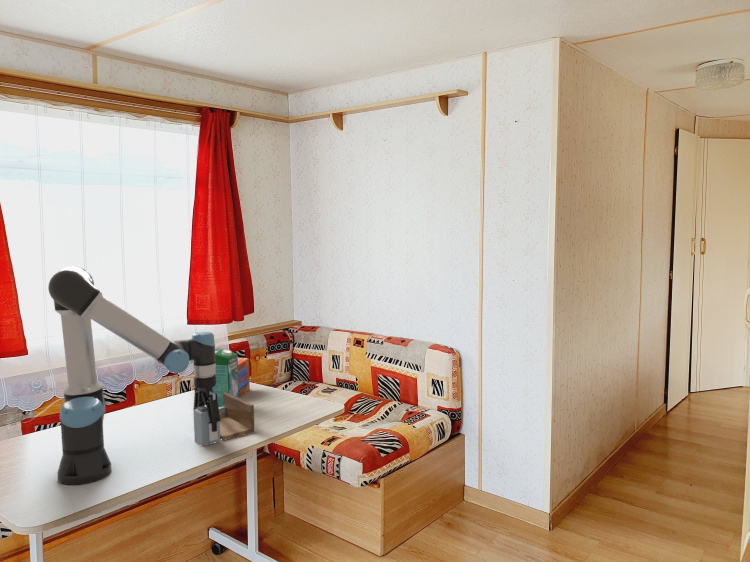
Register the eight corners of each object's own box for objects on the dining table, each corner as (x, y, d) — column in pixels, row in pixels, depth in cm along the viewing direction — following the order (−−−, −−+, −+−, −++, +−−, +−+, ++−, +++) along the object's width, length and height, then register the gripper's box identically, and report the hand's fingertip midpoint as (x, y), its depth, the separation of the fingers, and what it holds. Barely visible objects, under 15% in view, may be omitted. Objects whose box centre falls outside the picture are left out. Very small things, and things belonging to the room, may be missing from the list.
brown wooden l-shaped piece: (222, 440, 209) (221, 412, 208) (196, 425, 226) (195, 399, 225) (254, 431, 218) (253, 404, 217) (227, 417, 234) (226, 392, 233)
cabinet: (201, 446, 204) (200, 410, 203) (194, 441, 209) (193, 406, 207) (220, 441, 209) (219, 406, 207) (212, 436, 213) (211, 402, 212)
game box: (219, 388, 276) (218, 356, 274) (250, 390, 273) (249, 357, 272) (204, 398, 261) (203, 364, 259) (236, 400, 258) (235, 365, 256)
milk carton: (230, 411, 242) (228, 352, 240) (210, 410, 244) (208, 352, 242) (239, 404, 251) (237, 348, 249) (220, 403, 253) (218, 347, 250)
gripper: (229, 379, 200) (231, 441, 203) (201, 367, 217) (203, 425, 219) (208, 383, 195) (211, 447, 198) (182, 371, 212) (184, 430, 214)
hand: (207, 435), depth 208 cm, fingers open, 9 cm apart
